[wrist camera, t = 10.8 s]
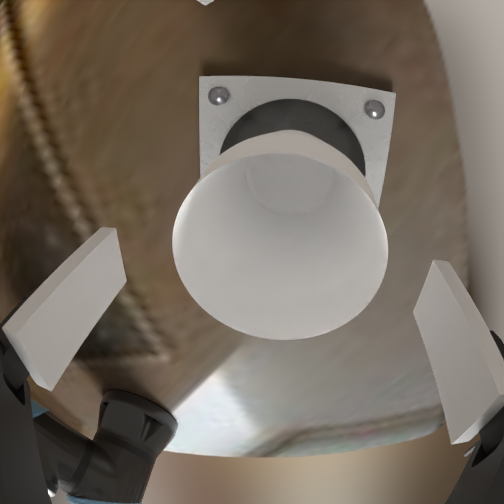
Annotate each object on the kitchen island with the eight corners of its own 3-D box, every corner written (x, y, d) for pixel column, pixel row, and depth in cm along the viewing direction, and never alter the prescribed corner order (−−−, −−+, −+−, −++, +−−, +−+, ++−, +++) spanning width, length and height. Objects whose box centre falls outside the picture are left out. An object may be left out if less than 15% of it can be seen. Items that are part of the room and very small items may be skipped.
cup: (362, 125, 19) (421, 176, 9) (338, 236, 24) (354, 353, 14) (235, 105, 20) (165, 135, 10) (226, 218, 25) (174, 322, 15)
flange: (206, 238, 28) (201, 246, 26) (203, 76, 20) (197, 76, 19) (363, 255, 26) (366, 264, 25) (392, 92, 19) (397, 93, 17)
